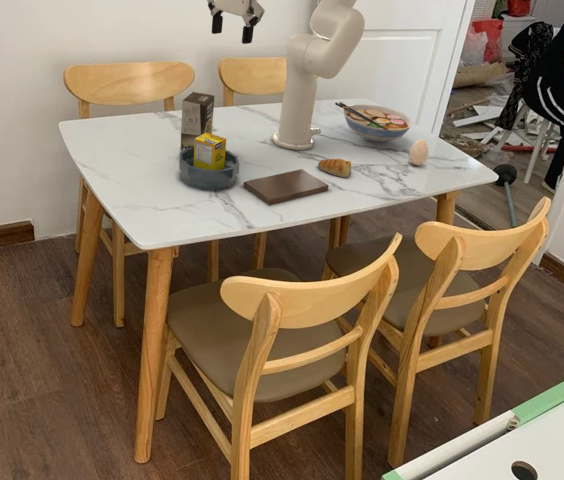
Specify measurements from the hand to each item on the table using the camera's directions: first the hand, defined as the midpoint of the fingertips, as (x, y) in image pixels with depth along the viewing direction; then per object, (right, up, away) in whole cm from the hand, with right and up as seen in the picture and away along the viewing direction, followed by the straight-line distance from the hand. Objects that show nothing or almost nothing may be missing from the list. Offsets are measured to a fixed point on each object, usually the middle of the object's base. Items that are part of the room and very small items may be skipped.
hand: (231, 38), depth 150 cm
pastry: (+28, -29, +23) cm, 46 cm away
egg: (+53, -25, +35) cm, 68 cm away
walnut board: (+14, -36, +9) cm, 39 cm away
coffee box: (-12, -25, +20) cm, 34 cm away
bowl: (-7, -33, +8) cm, 35 cm away
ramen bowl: (+42, -13, +49) cm, 66 cm away
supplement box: (-7, -33, +8) cm, 35 cm away
